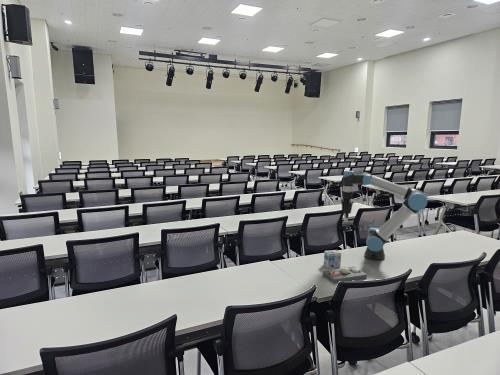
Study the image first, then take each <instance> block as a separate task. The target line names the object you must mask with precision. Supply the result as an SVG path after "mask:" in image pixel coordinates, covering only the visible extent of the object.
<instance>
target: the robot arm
mask: <svg viewBox="0 0 500 375" xmlns="http://www.w3.org/2000/svg"><path fill="white" fill-rule="evenodd" d="M354 185H363V186H372V187H375V188H377V189H380V190H383V191H385V192H388V193H390V194H393V195H395V196H398V197H401V199H402V200H404V201H402V202H401V203H402V206H401V207H400V208H398V210H396V211H395V213H393V215H392V216H390V218H388V220H387V221H386V222H385V223H384V224H383V225H382V226H380V228H379V227H368V231H367V232H368V233H367V236H366V237H367V238H366V240H365V244H366V248H365V251H364V257H365V258H367V259H369V260H372V261H383V260H385V258H386V254H385V250H384V246H385V245H386V244H387V243H388V242H389V238H390V237H391V235H393V234H394V233H395V232H396V231H397V230H398V229H399V228H400V227H401V226H402V225H403V224H404V223H405V222H406V221H407V220H408V219H409V218H411V216H412V215H417V214H418V213H419V212H420V211H422V210H424V209H426V208H425V207H427V205H428V198H427V196H426V194H425V192H424V191H423V190H419V189H416V188H413V187H410V186H407V187H406V186H402V185H401V184H398V183H395V182H393V181H392V182H391V181H389V180H387V179H384V178H380V177H378V176H376V175H374V174H373V175H372V174H370V173H369V172H366V171H363V172H361V173H355V171H353V170H345V171H343V176H342V193H341V197H342V198H340V201H341V202H340V203H341V211H342V213H343V222H344V223H348V222H349V216H350V215H349V214H351V213H352V208H353V204H354V201H352V198H353V194H354V193H353V191H354Z"/></svg>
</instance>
